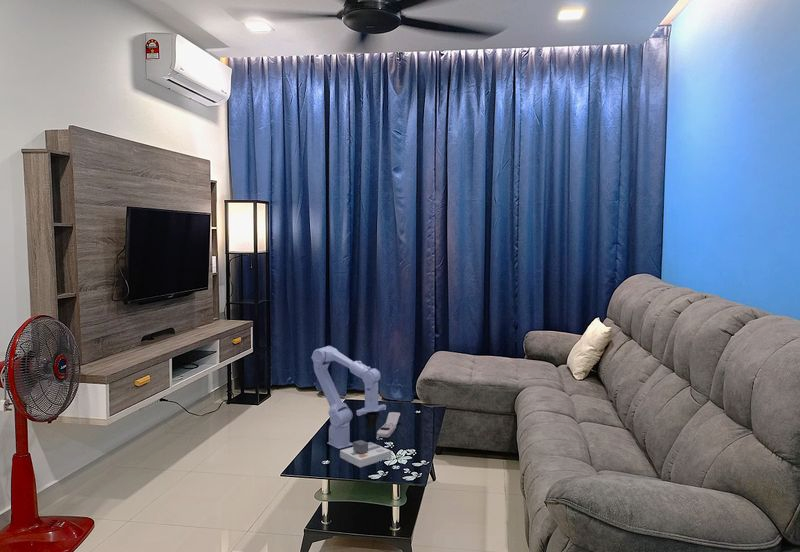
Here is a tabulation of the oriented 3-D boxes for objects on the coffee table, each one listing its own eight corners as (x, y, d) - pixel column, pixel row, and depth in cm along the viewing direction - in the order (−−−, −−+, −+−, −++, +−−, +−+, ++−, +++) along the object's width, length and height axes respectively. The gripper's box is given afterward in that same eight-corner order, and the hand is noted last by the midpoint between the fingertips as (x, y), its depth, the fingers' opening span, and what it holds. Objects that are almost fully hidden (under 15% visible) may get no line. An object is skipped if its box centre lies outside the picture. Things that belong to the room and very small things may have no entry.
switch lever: (360, 448, 241) (360, 439, 241) (368, 451, 238) (368, 443, 237) (353, 450, 239) (353, 442, 239) (360, 453, 235) (360, 445, 235)
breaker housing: (370, 448, 250) (370, 441, 250) (391, 457, 240) (391, 450, 240) (339, 457, 240) (339, 449, 240) (360, 467, 229) (360, 459, 229)
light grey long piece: (400, 412, 285) (387, 427, 261) (401, 424, 285) (387, 440, 261) (389, 411, 286) (374, 426, 262) (389, 423, 287) (374, 439, 263)
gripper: (363, 402, 239) (363, 434, 240) (390, 396, 249) (390, 427, 249) (353, 399, 245) (353, 430, 245) (380, 393, 254) (380, 423, 255)
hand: (371, 429), depth 248 cm, fingers closed
